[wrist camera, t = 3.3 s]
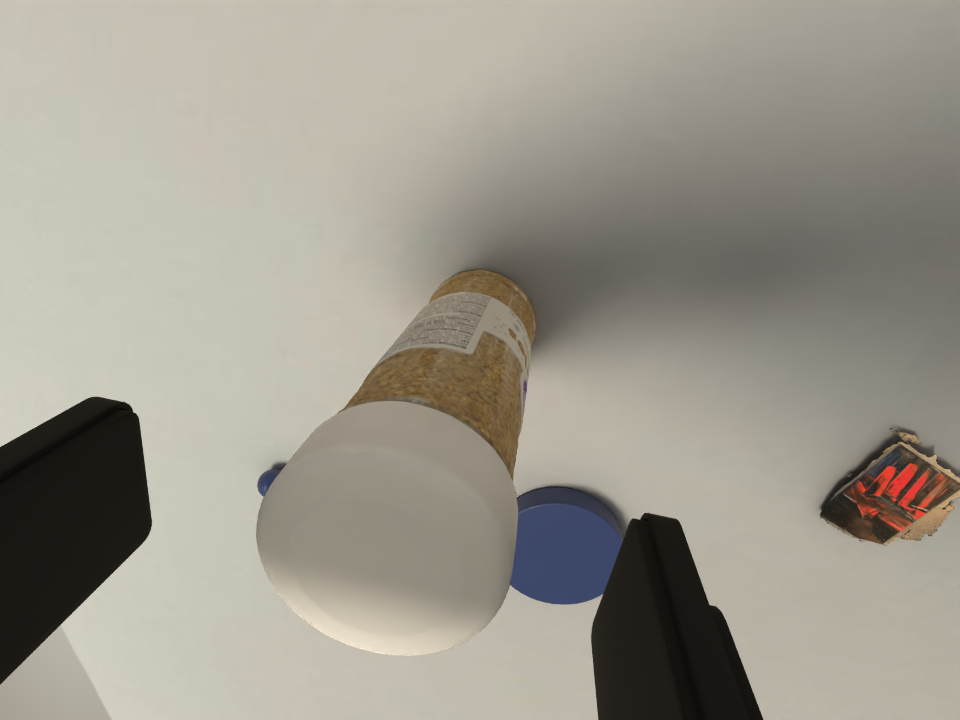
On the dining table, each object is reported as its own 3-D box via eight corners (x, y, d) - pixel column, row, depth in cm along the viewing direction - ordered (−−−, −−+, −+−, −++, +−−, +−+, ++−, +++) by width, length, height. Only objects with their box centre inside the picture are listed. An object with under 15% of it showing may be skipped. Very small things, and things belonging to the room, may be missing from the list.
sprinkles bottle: (540, 369, 21) (523, 673, 9) (435, 375, 22) (284, 663, 10) (532, 260, 20) (495, 451, 7) (417, 270, 20) (209, 459, 8)
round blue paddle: (267, 519, 27) (252, 537, 25) (266, 420, 24) (250, 436, 23) (603, 597, 26) (606, 621, 24) (638, 502, 23) (642, 523, 22)
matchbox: (808, 520, 22) (814, 528, 22) (877, 423, 20) (885, 429, 20) (912, 553, 22) (919, 561, 22) (992, 458, 20) (1002, 465, 20)
